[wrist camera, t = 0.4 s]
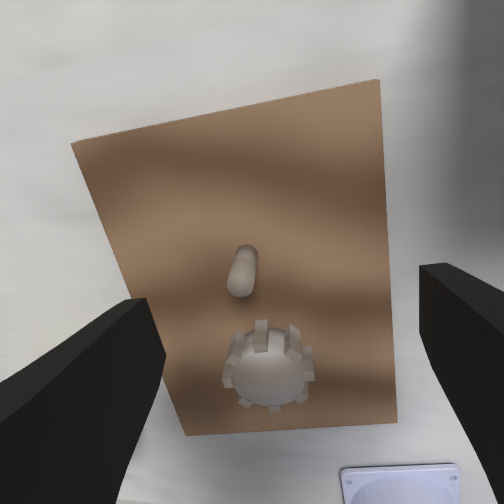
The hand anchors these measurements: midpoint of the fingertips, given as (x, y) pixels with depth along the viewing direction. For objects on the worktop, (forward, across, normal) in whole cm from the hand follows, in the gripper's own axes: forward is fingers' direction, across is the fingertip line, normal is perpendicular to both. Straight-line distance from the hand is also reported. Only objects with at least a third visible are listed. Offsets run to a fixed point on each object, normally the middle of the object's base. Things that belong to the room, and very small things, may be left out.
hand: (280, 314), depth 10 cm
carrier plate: (+10, +2, +6) cm, 11 cm away
